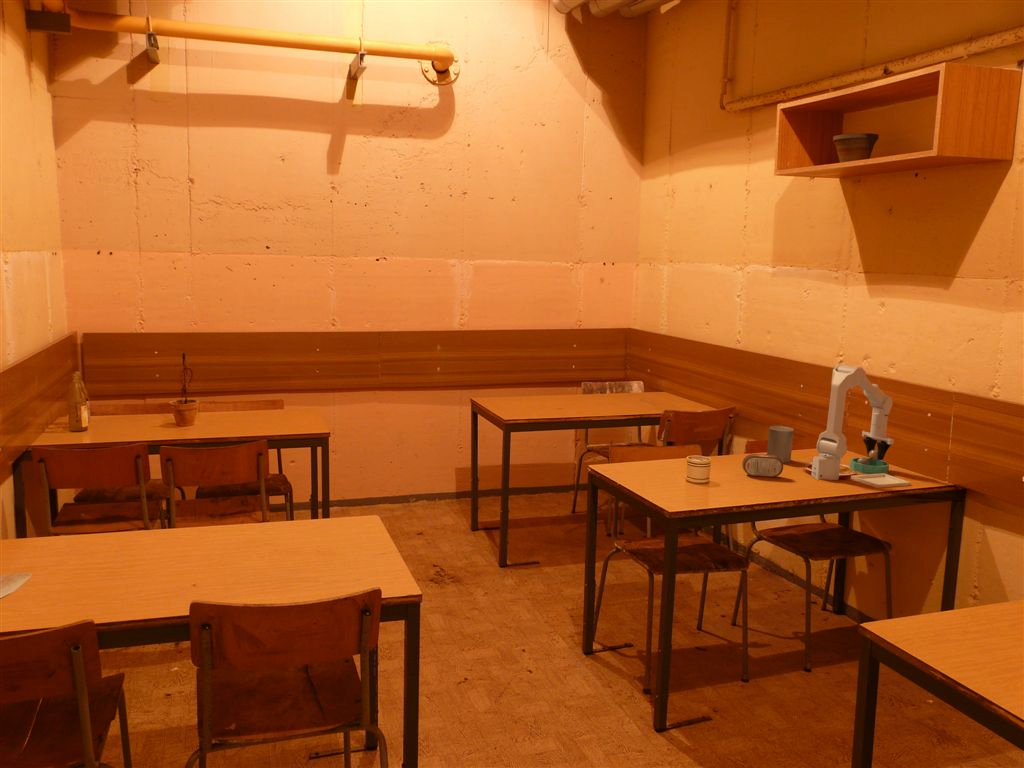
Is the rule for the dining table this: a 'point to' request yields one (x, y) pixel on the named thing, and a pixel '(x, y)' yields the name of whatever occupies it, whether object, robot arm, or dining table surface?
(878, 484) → the tray
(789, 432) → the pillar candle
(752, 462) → the tin
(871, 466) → the teal bowl
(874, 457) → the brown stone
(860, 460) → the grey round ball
